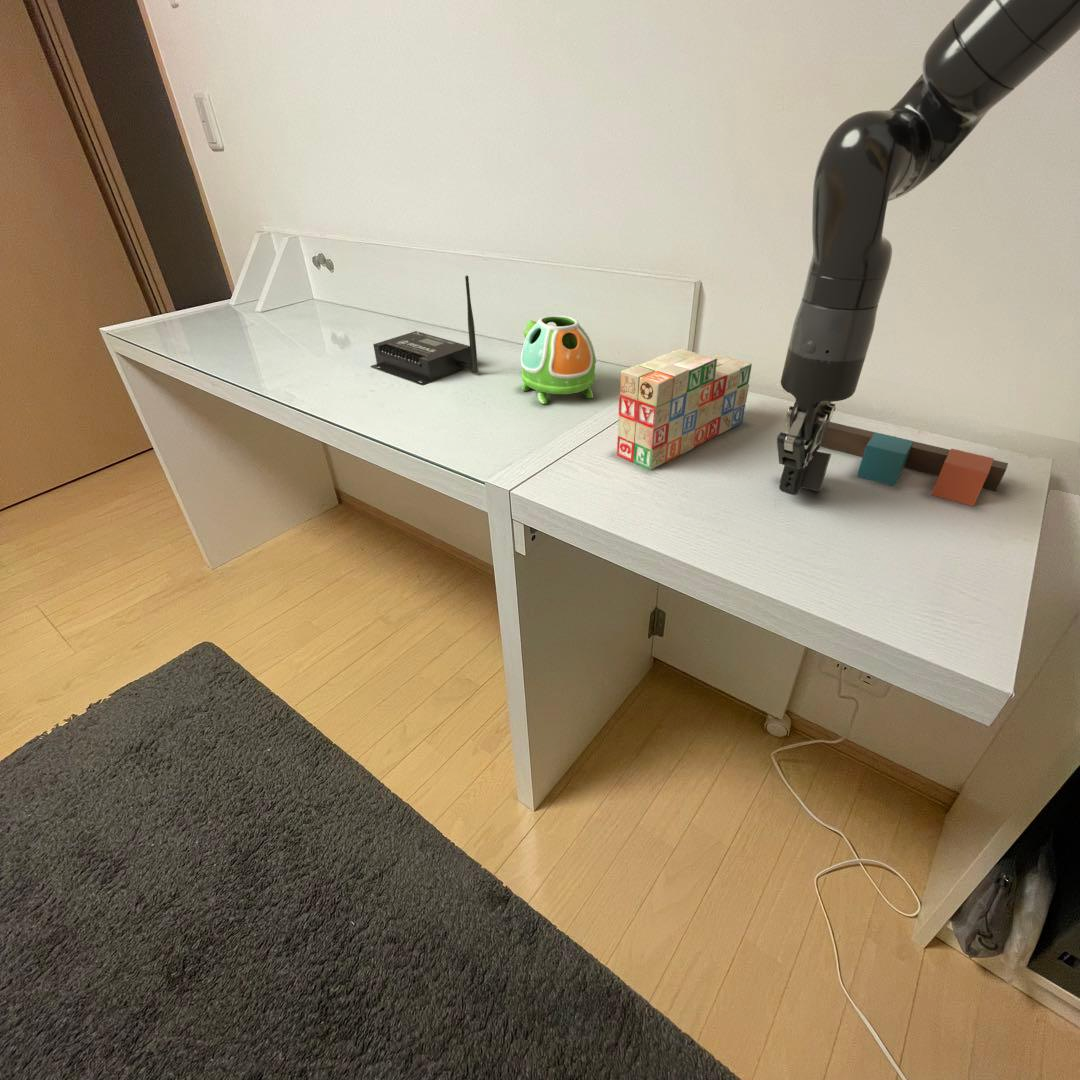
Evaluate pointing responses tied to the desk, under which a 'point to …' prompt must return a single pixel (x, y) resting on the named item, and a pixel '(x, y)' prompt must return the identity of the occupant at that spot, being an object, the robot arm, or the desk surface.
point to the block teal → (884, 458)
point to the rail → (919, 456)
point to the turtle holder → (557, 358)
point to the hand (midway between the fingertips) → (789, 490)
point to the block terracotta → (962, 477)
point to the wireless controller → (427, 354)
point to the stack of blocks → (678, 404)
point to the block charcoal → (816, 471)
